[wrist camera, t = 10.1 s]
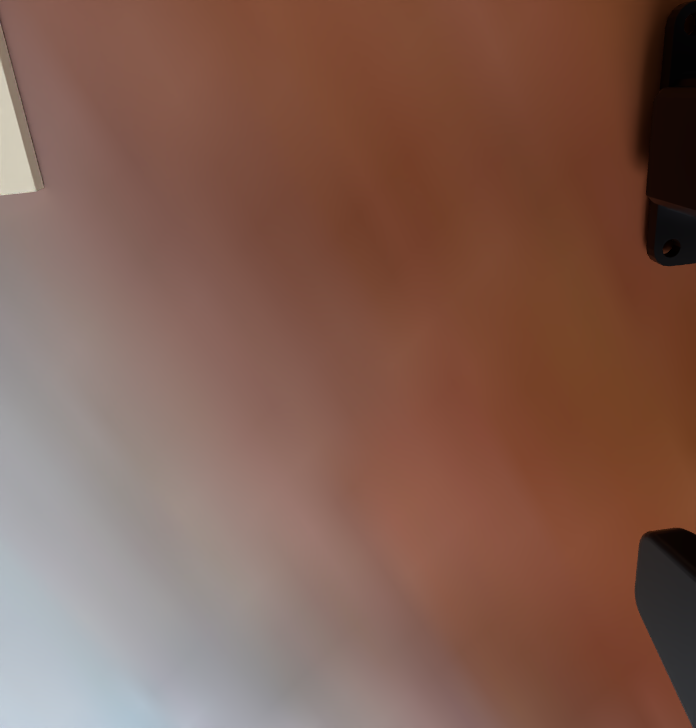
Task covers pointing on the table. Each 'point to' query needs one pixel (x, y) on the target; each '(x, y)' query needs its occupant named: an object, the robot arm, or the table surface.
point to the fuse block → (14, 135)
